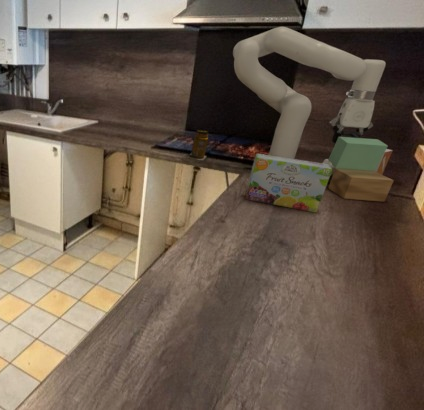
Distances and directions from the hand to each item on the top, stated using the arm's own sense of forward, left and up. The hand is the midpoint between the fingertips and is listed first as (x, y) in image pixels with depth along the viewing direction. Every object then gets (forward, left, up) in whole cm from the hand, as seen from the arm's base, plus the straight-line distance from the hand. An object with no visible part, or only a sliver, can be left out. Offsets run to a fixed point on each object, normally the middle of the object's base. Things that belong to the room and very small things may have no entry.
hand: (344, 143), depth 139 cm
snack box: (-33, -31, -15) cm, 48 cm away
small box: (+17, +4, -15) cm, 23 cm away
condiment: (-50, +19, -15) cm, 56 cm away
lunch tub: (0, -12, -2) cm, 12 cm away
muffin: (0, +4, -15) cm, 15 cm away
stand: (0, -16, -15) cm, 22 cm away
